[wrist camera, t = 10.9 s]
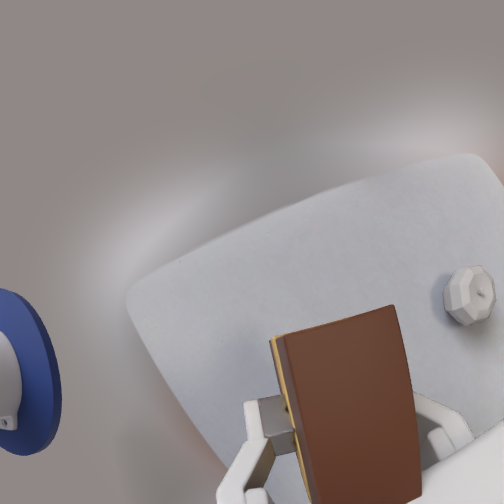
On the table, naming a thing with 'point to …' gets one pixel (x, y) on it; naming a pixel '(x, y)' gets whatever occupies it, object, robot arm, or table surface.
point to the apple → (470, 295)
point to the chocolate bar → (352, 409)
